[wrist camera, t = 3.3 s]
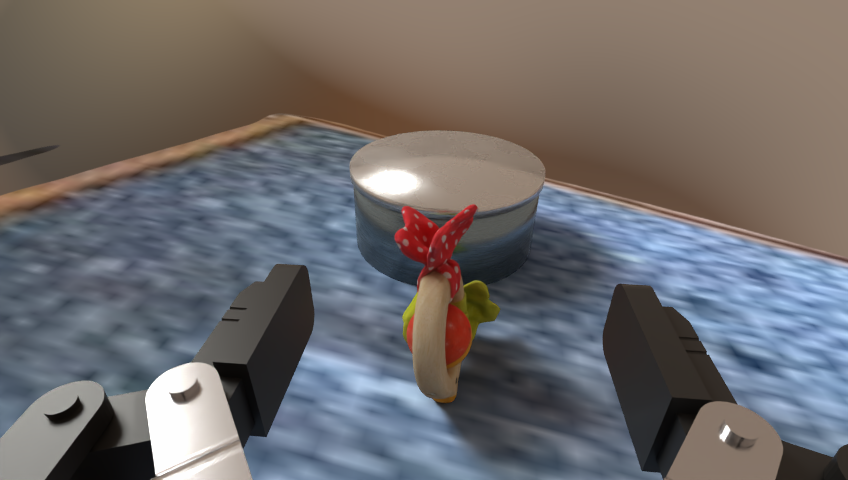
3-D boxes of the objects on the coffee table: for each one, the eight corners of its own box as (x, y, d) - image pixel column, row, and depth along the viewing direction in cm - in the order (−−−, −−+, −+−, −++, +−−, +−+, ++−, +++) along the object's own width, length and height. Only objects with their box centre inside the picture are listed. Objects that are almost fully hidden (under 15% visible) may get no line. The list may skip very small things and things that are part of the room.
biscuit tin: (542, 299, 34) (559, 215, 30) (334, 284, 35) (326, 201, 31) (524, 202, 47) (534, 135, 43) (373, 193, 48) (370, 126, 44)
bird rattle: (495, 426, 27) (499, 289, 32) (521, 359, 18) (520, 182, 23) (389, 415, 28) (409, 282, 33) (361, 344, 19) (395, 174, 24)
